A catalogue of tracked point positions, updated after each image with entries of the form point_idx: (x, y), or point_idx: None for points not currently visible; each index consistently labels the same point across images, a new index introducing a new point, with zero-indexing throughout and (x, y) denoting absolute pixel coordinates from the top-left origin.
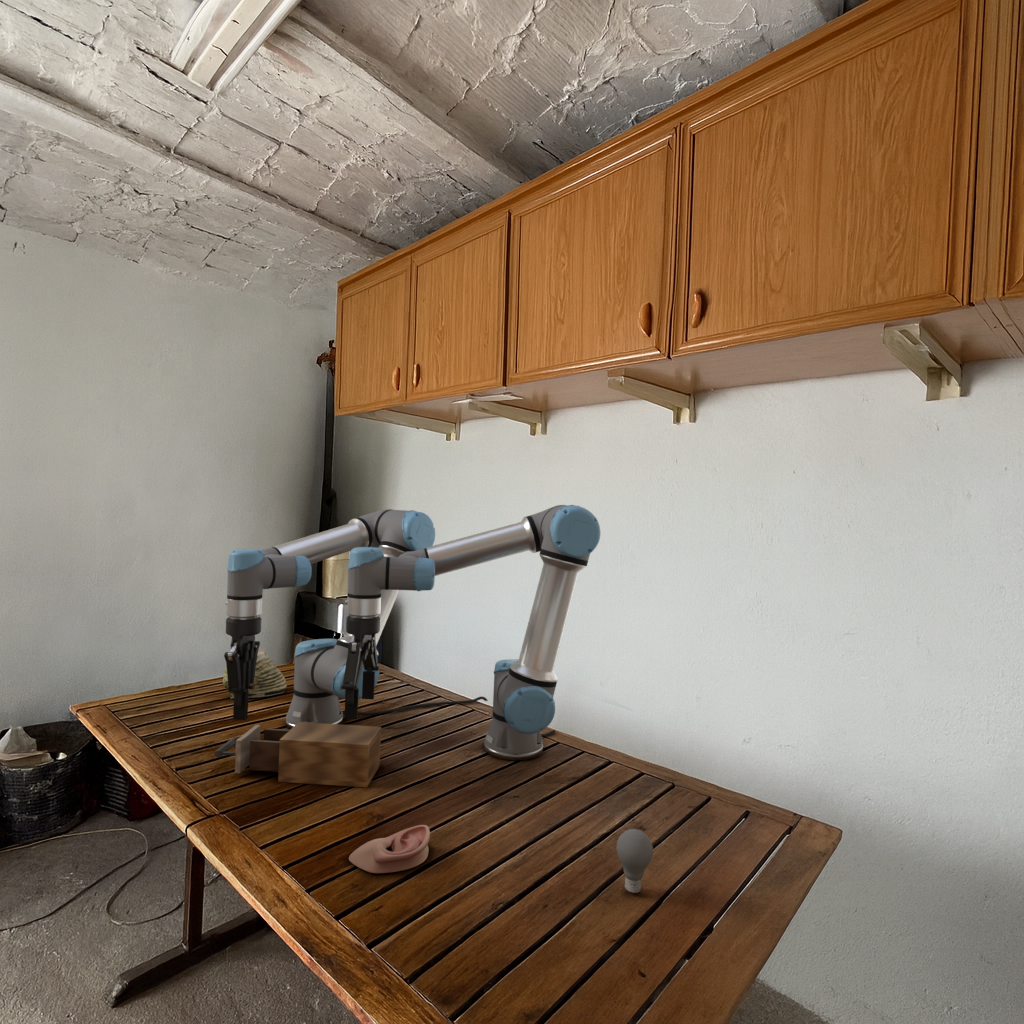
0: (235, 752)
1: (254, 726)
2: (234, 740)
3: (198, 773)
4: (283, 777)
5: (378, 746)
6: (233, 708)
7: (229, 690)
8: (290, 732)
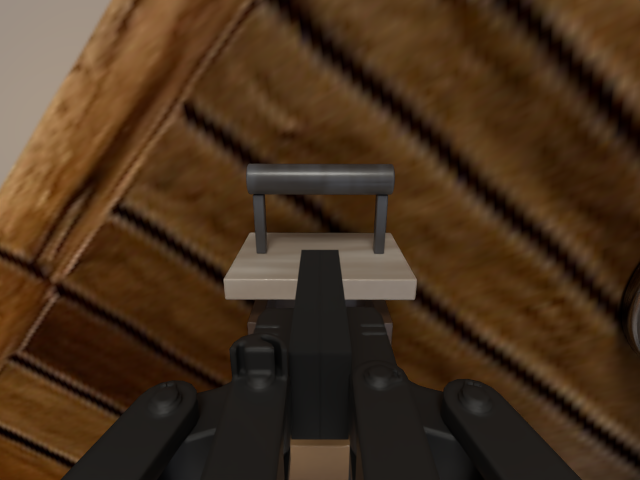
0: (262, 242)
1: (393, 283)
2: (363, 192)
3: (259, 97)
4: None
5: None
6: (298, 276)
7: (147, 396)
8: (299, 455)
